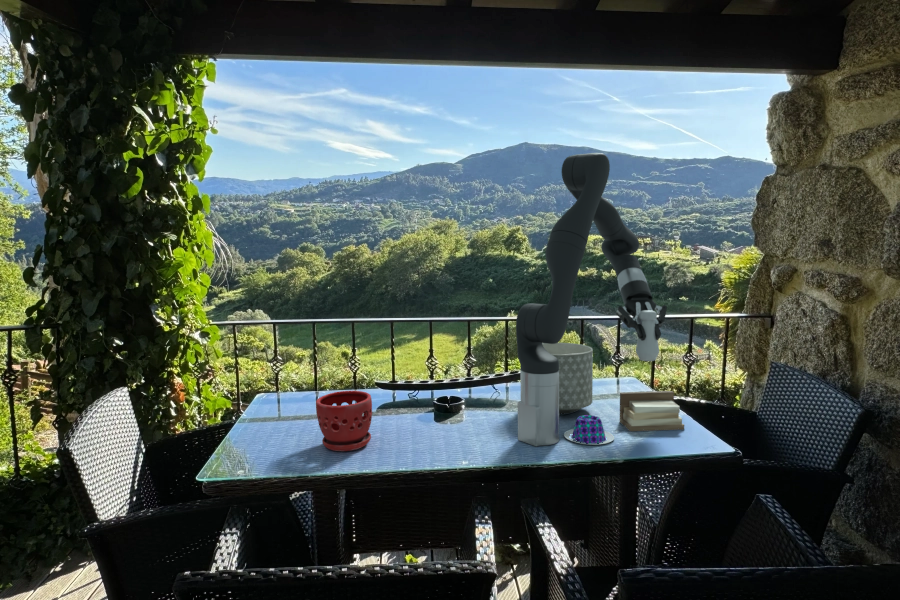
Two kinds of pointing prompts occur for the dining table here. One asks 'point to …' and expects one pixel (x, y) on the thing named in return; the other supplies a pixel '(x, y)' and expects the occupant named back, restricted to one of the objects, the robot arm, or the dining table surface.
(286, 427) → the dining table surface
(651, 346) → the salt shaker
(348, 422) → the plant pot
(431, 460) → the dining table surface
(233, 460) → the dining table surface
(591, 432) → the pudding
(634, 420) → the offcut rack
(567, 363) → the planter
